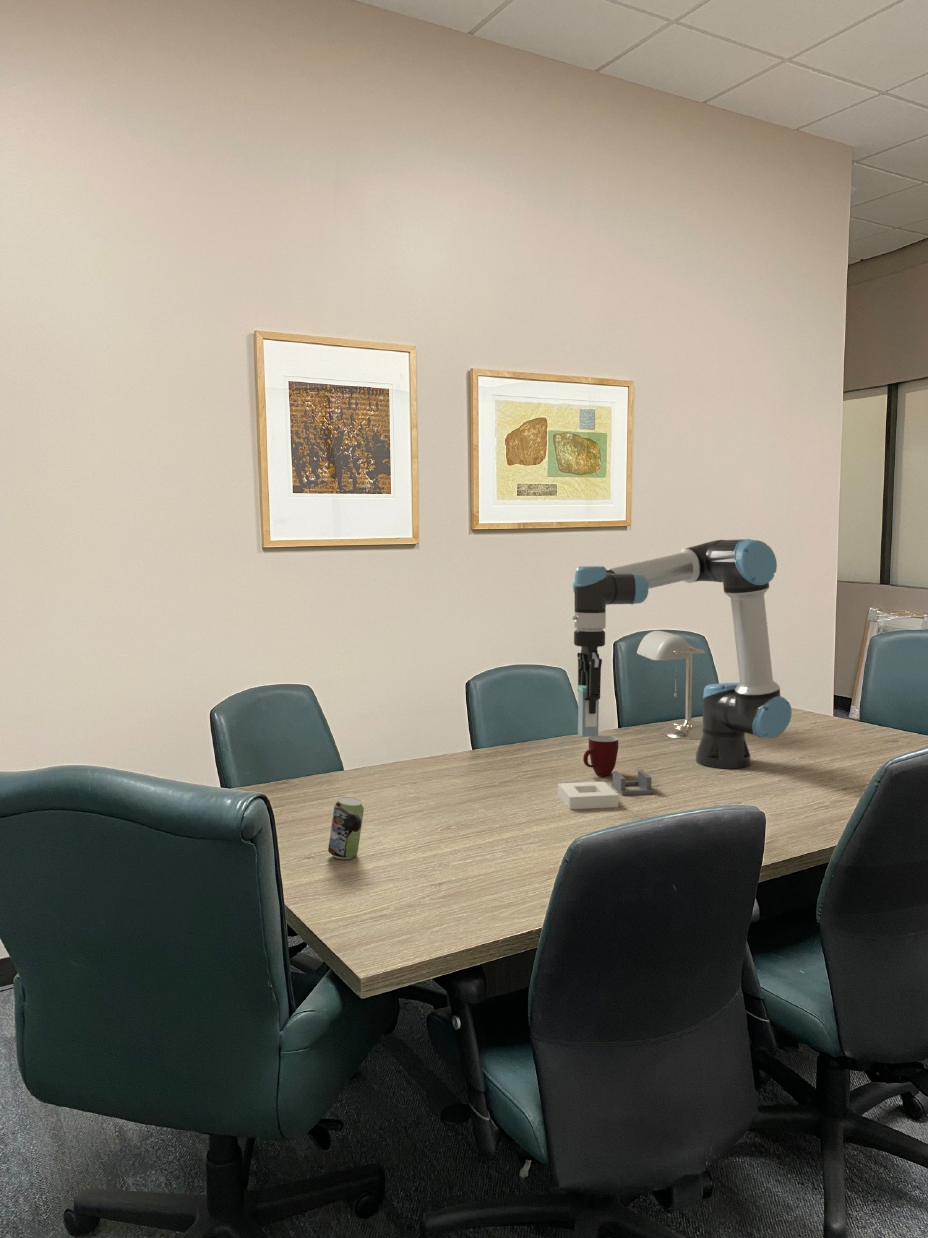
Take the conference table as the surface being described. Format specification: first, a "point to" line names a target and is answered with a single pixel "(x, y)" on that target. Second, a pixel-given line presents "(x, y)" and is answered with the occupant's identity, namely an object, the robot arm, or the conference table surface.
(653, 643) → the lamp
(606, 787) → the frame
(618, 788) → the holster
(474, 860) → the conference table surface
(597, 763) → the mug
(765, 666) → the robot arm
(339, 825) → the beverage can
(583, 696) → the plug
